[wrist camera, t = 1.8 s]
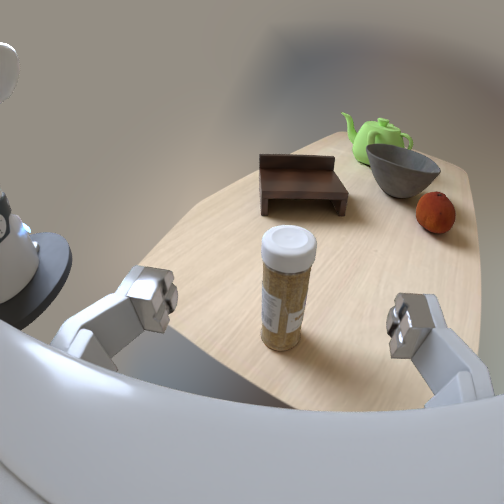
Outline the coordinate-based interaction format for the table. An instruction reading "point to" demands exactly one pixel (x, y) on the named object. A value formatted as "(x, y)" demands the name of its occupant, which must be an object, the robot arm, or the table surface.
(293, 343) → the sprinkles bottle
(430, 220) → the fruit
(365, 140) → the teapot
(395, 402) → the table surface
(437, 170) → the bowl
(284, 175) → the shelf
